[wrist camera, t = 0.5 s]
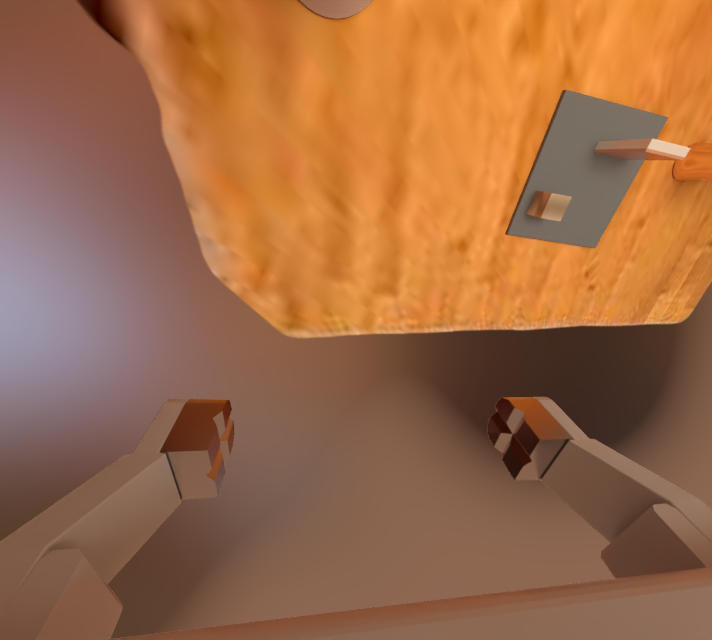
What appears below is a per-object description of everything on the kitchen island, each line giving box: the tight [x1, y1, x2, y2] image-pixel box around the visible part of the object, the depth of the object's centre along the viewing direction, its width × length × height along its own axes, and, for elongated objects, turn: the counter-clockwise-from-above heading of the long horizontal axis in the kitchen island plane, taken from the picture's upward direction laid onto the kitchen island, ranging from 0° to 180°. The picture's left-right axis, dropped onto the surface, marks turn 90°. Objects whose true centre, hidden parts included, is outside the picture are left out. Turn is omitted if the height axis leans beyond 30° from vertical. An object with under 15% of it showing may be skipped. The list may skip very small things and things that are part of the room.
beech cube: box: [526, 191, 572, 221], centre depth 51 cm, size 4×4×4 cm
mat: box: [506, 90, 668, 248], centre depth 51 cm, size 22×20×1 cm
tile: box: [594, 139, 691, 160], centre depth 45 cm, size 2×7×9 cm, turn 81°
